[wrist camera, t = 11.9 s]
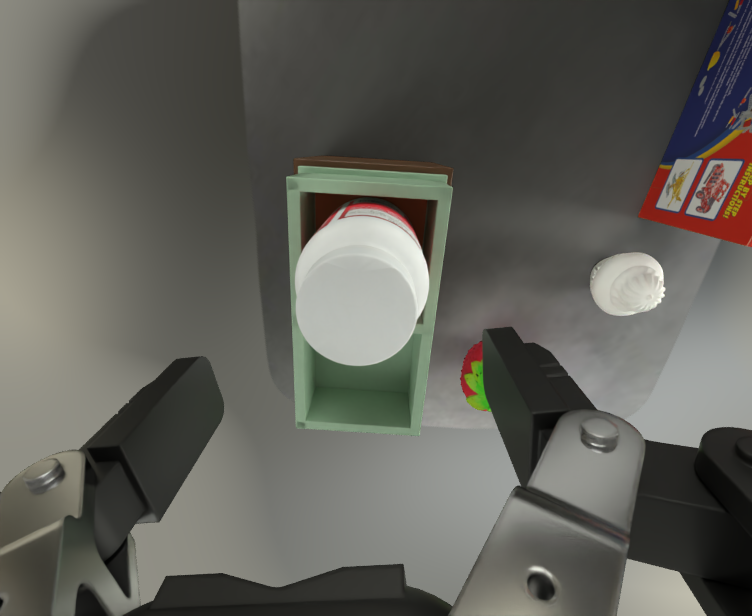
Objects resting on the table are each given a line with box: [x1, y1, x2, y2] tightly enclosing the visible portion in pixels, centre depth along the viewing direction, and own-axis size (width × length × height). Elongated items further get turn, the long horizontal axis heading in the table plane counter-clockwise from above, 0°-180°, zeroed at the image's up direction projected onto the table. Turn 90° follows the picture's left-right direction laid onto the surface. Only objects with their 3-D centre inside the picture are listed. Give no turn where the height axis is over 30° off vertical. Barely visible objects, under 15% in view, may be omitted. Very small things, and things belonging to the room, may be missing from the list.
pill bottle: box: [295, 197, 429, 366], centre depth 19 cm, size 6×6×11 cm
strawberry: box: [460, 341, 492, 412], centre depth 37 cm, size 6×7×10 cm
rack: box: [286, 156, 453, 436], centre depth 30 cm, size 18×10×17 cm, turn 177°
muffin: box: [590, 252, 666, 316], centre depth 34 cm, size 6×6×7 cm
